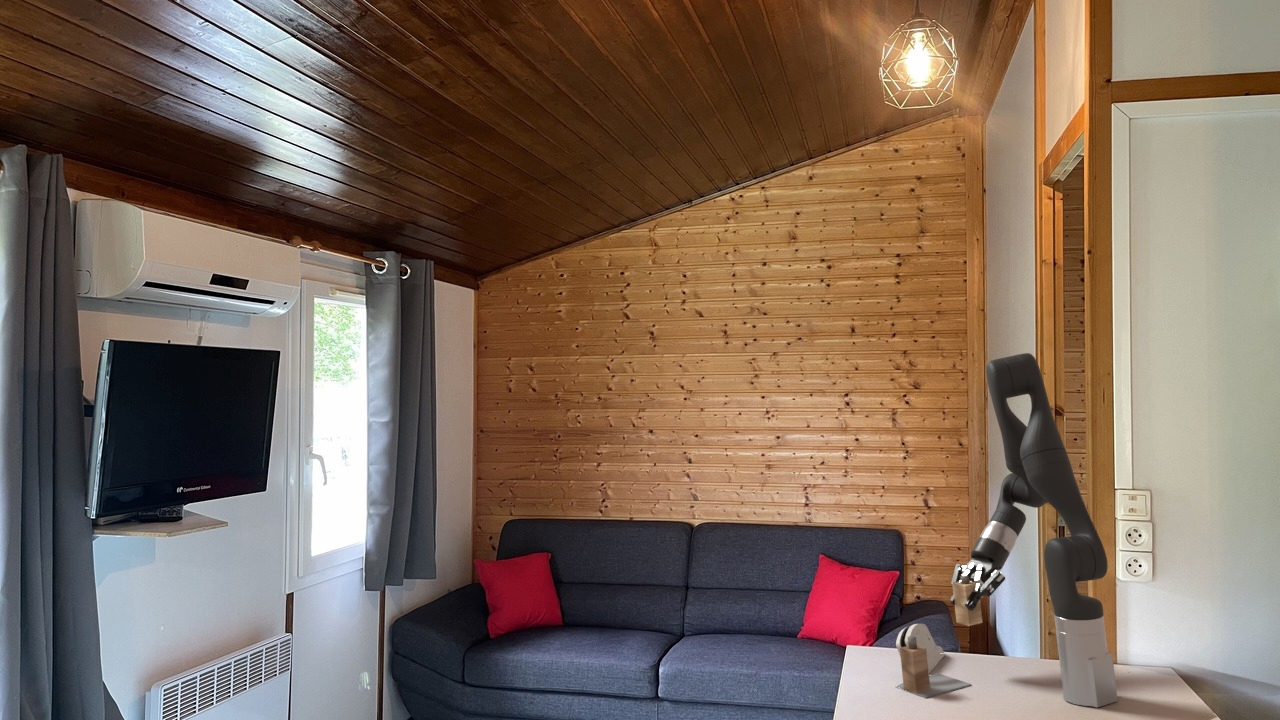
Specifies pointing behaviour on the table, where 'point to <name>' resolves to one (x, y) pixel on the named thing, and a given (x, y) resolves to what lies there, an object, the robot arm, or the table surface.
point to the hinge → (921, 643)
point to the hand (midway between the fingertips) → (961, 606)
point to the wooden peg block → (960, 597)
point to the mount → (923, 673)
